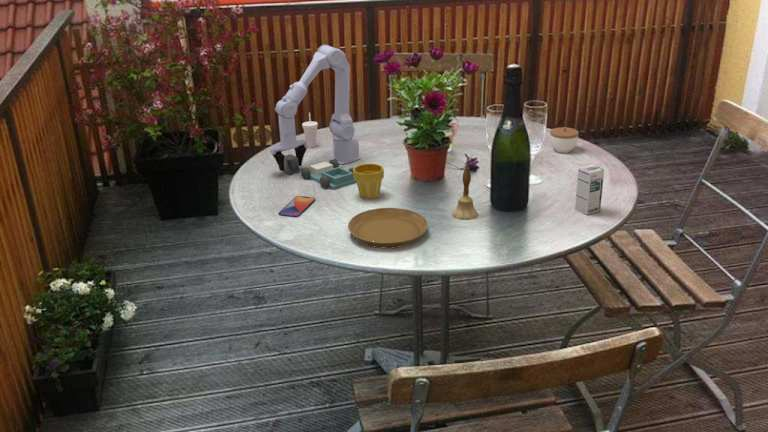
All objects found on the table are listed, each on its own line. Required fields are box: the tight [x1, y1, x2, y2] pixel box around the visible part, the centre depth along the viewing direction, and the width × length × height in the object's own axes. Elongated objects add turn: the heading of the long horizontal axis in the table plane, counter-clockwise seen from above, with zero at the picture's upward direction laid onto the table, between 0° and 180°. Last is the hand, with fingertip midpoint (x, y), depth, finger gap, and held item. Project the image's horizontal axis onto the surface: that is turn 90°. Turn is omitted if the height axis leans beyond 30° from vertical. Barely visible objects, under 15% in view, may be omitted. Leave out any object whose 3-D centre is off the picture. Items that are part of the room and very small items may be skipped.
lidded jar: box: [549, 126, 580, 154], centre depth 281 cm, size 11×11×9 cm
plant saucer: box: [347, 207, 429, 249], centre depth 219 cm, size 24×24×3 cm
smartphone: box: [277, 195, 317, 218], centre depth 239 cm, size 7×15×1 cm, turn 162°
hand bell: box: [451, 166, 479, 221], centre depth 227 cm, size 8×8×16 cm
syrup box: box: [574, 164, 605, 216], centre depth 228 cm, size 6×6×14 cm
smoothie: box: [301, 112, 319, 149], centre depth 292 cm, size 6×6×14 cm
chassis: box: [300, 159, 357, 191], centre depth 261 cm, size 14×20×4 cm
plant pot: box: [353, 163, 385, 200], centre depth 245 cm, size 10×10×10 cm
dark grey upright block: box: [282, 153, 300, 176], centre depth 267 cm, size 4×5×6 cm
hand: (290, 167), depth 268 cm, fingers open, 7 cm apart
